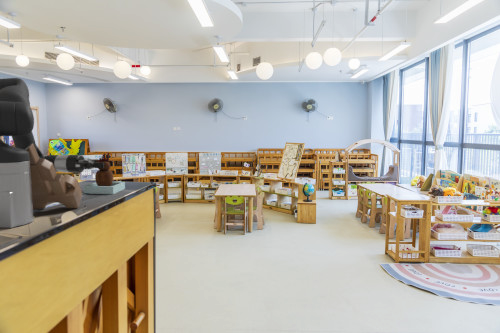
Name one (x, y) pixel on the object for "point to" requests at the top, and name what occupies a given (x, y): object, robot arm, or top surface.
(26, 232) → the top surface
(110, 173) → the wooden figurine
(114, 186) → the pale teal tray
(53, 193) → the wooden toy
